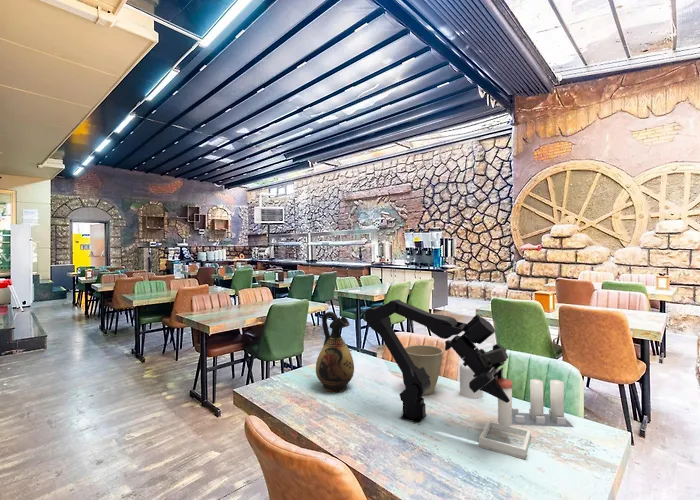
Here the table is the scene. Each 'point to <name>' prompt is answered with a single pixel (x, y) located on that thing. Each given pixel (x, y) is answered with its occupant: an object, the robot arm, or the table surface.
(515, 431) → the tray
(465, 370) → the pill bottle
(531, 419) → the fuse panel
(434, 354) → the plant pot
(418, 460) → the table surface
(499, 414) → the white cylinder orange top
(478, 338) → the robot arm
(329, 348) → the ceramic jug
